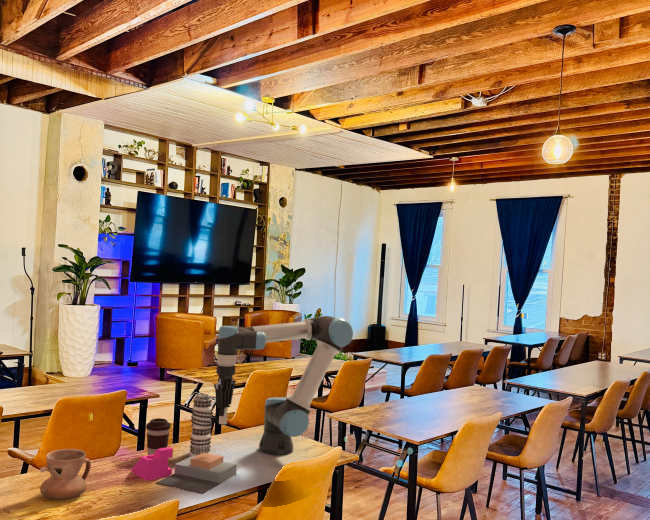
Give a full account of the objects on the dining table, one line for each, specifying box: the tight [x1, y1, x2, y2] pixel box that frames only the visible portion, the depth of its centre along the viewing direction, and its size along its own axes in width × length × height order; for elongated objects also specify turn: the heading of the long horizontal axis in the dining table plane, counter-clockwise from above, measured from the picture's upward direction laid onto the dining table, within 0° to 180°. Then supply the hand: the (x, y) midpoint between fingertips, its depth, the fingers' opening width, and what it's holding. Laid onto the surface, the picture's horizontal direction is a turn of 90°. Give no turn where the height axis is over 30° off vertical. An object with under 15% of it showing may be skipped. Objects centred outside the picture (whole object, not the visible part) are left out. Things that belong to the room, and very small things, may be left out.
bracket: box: [130, 446, 174, 482], centre depth 230 cm, size 12×10×10 cm
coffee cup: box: [145, 417, 172, 455], centre depth 251 cm, size 10×10×15 cm
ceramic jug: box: [39, 448, 92, 501], centre depth 205 cm, size 18×14×14 cm
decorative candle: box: [189, 393, 214, 457], centre depth 257 cm, size 9×9×25 cm
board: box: [173, 455, 238, 484], centre depth 232 cm, size 12×20×4 cm, turn 68°
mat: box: [155, 473, 228, 495], centre depth 224 cm, size 16×20×1 cm
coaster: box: [190, 453, 224, 469], centre depth 233 cm, size 9×9×2 cm
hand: (222, 423), depth 242 cm, fingers closed
